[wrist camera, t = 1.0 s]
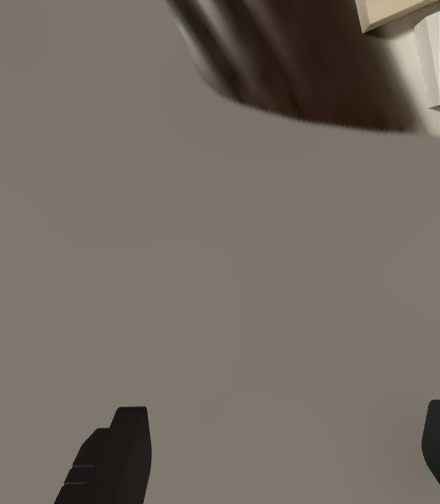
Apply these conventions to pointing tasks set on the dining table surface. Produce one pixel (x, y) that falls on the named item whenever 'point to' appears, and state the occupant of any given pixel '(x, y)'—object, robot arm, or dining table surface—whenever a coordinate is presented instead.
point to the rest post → (430, 56)
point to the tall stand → (386, 11)
